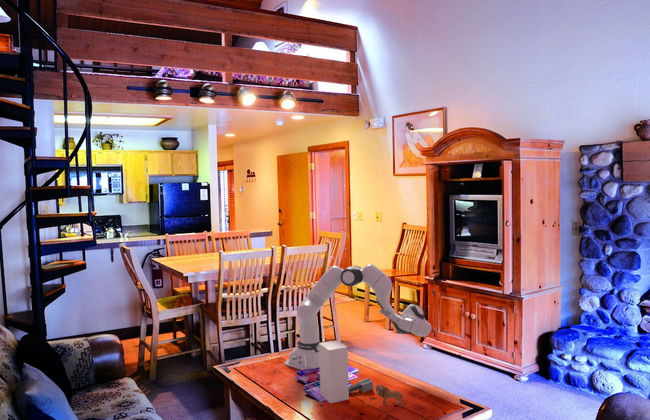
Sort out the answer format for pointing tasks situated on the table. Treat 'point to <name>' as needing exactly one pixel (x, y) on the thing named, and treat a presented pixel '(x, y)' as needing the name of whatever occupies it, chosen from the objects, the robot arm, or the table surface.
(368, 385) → the dark grey elongated piece
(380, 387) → the lion figurine
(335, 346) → the stand
